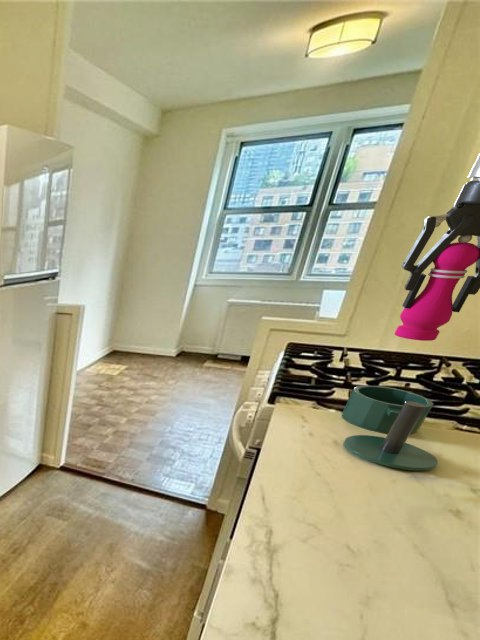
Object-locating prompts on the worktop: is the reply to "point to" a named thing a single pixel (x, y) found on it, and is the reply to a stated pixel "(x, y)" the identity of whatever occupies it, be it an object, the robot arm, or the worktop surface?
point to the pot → (381, 407)
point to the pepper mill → (438, 292)
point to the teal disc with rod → (395, 443)
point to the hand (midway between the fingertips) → (429, 308)
